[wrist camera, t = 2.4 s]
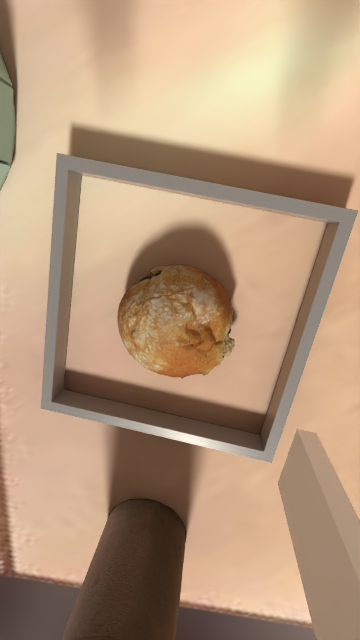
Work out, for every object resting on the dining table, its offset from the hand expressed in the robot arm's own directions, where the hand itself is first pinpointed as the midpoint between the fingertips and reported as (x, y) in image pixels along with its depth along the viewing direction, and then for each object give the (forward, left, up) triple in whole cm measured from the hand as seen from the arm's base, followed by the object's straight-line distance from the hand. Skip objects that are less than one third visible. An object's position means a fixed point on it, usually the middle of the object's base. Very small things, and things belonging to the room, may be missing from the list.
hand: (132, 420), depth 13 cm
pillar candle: (-27, -1, -17) cm, 32 cm away
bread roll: (0, 0, -17) cm, 17 cm away
